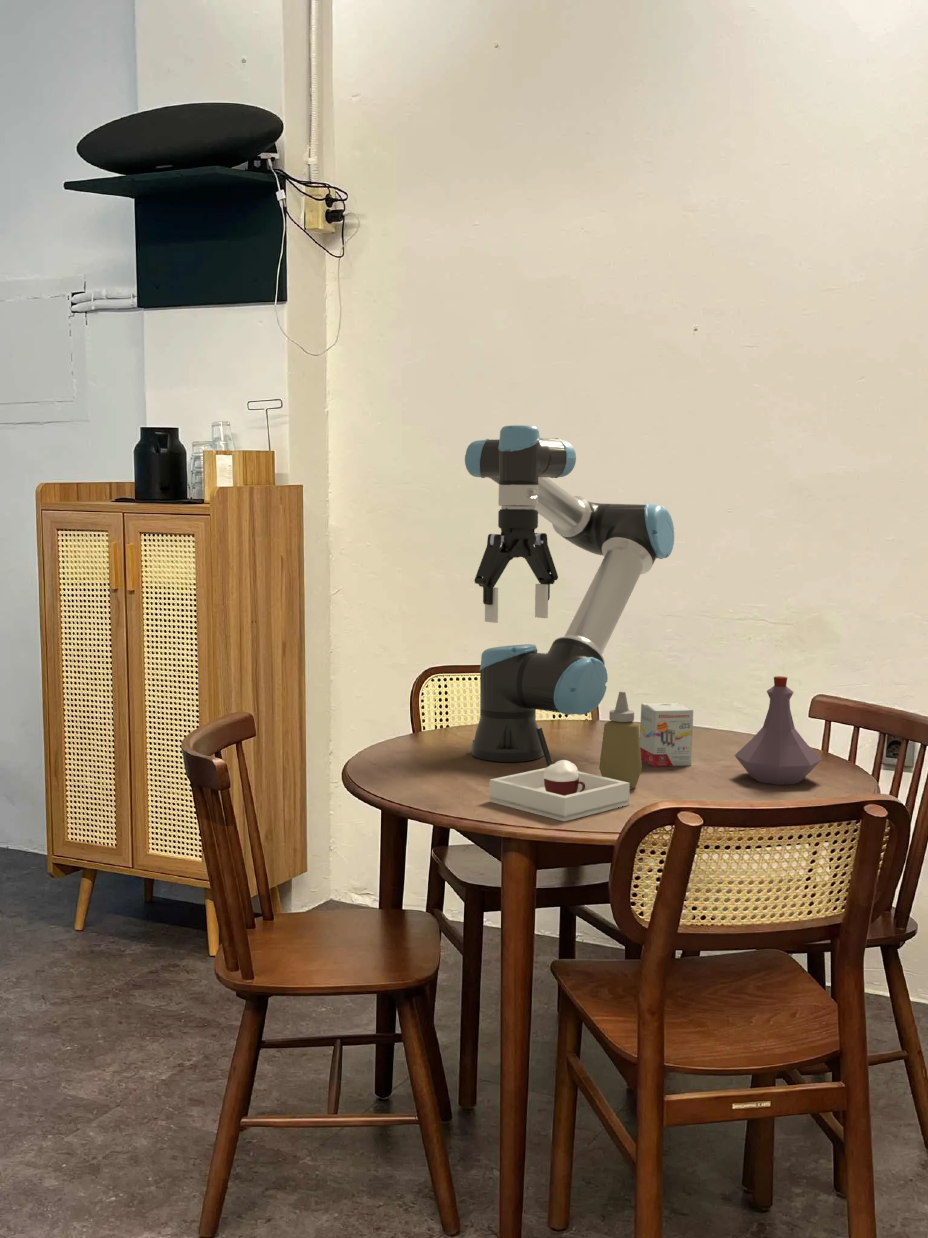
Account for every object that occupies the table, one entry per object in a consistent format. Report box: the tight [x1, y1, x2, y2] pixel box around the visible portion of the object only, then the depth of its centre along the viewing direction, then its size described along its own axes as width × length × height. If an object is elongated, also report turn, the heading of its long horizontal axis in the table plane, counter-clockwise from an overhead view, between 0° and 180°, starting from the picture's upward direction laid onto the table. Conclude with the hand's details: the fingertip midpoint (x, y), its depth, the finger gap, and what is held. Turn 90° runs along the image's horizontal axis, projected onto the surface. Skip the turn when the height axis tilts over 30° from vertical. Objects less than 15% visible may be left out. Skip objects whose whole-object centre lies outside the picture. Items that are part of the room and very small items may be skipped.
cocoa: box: [536, 726, 585, 796], centre depth 222 cm, size 10×6×12 cm, turn 36°
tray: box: [489, 767, 630, 822], centre depth 222 cm, size 17×18×4 cm
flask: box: [734, 675, 822, 786], centre depth 241 cm, size 16×16×20 cm
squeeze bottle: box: [599, 691, 643, 790], centre depth 234 cm, size 8×8×18 cm
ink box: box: [639, 702, 694, 768], centre depth 257 cm, size 9×9×12 cm
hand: (516, 620), depth 238 cm, fingers open, 13 cm apart
